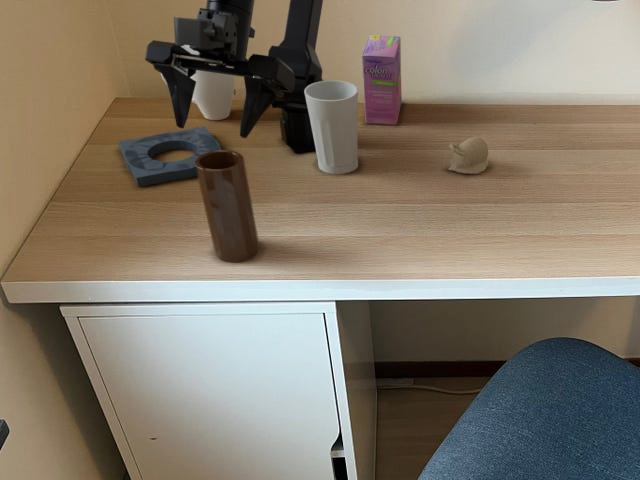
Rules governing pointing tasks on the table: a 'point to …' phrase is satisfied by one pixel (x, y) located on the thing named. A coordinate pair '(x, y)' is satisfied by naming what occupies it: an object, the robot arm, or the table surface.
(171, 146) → the ring plate
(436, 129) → the table surface
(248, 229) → the brown tumbler
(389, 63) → the box
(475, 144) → the decorative ornament
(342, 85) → the cup
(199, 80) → the mug
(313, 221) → the table surface
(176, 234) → the table surface
